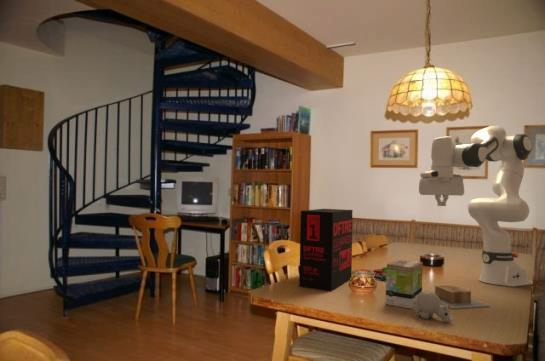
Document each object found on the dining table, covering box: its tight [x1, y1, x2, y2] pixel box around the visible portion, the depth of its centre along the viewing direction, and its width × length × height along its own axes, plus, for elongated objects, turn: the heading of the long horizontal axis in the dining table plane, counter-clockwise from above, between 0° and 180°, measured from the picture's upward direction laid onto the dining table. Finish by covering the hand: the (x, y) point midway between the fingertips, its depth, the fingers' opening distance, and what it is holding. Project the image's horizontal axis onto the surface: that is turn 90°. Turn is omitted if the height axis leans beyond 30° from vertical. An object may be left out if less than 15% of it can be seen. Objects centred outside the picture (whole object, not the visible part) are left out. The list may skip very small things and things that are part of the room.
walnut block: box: [434, 284, 472, 303], centre depth 154 cm, size 8×4×10 cm
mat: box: [439, 298, 491, 310], centre depth 151 cm, size 16×14×1 cm
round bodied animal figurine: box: [412, 290, 454, 323], centre depth 130 cm, size 7×12×8 cm, turn 44°
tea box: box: [384, 259, 424, 309], centre depth 150 cm, size 15×10×15 cm
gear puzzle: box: [372, 266, 387, 283], centre depth 198 cm, size 31×16×4 cm, turn 140°
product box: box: [298, 208, 354, 292], centre depth 179 cm, size 26×14×32 cm, turn 151°
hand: (441, 206), depth 174 cm, fingers closed
